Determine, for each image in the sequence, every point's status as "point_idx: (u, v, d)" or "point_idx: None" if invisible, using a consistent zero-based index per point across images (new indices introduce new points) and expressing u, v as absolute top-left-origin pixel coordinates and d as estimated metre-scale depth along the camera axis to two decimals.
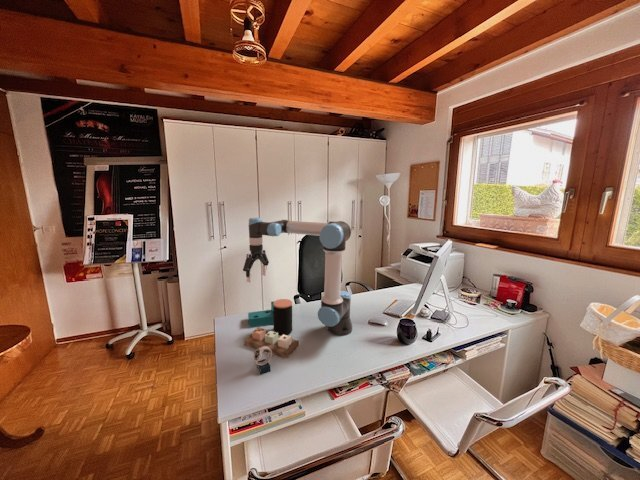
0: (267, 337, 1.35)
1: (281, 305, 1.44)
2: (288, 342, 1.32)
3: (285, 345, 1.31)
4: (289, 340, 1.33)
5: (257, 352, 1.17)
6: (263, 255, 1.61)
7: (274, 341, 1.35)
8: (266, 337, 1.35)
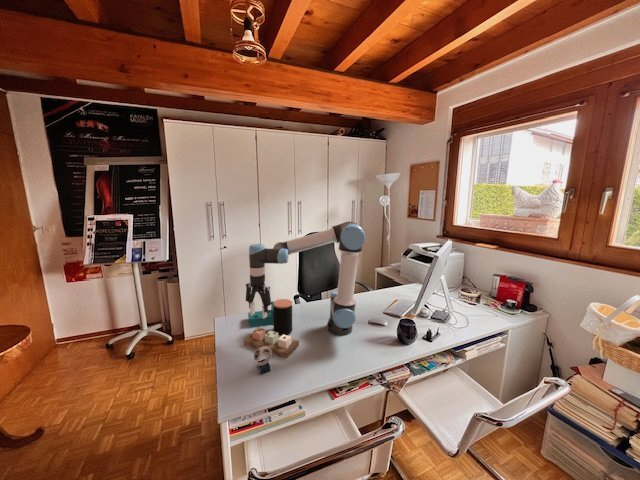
0: (267, 337, 1.35)
1: (281, 305, 1.44)
2: (288, 342, 1.32)
3: (285, 345, 1.31)
4: (289, 340, 1.33)
5: (257, 352, 1.17)
6: None
7: (274, 341, 1.35)
8: (266, 337, 1.35)
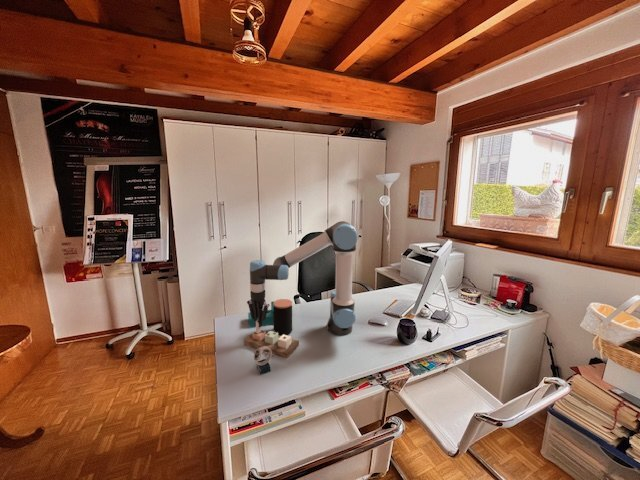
0: (267, 337, 1.35)
1: (281, 305, 1.44)
2: (288, 342, 1.32)
3: (285, 345, 1.31)
4: (289, 340, 1.33)
5: (257, 352, 1.17)
6: None
7: (274, 341, 1.35)
8: (266, 337, 1.35)
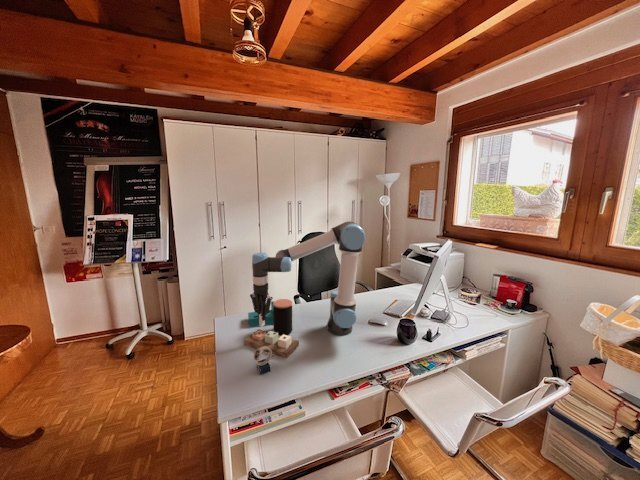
0: (267, 337, 1.35)
1: (281, 305, 1.44)
2: (288, 342, 1.32)
3: (285, 345, 1.31)
4: (289, 340, 1.33)
5: (257, 352, 1.17)
6: None
7: (274, 341, 1.35)
8: (266, 337, 1.35)
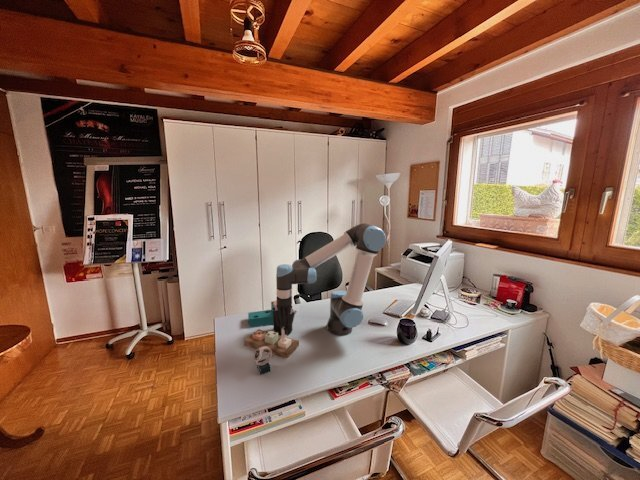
0: (267, 337, 1.35)
1: None
2: (288, 345, 1.32)
3: (285, 348, 1.31)
4: (289, 343, 1.33)
5: (257, 352, 1.17)
6: None
7: (274, 341, 1.35)
8: (266, 337, 1.35)
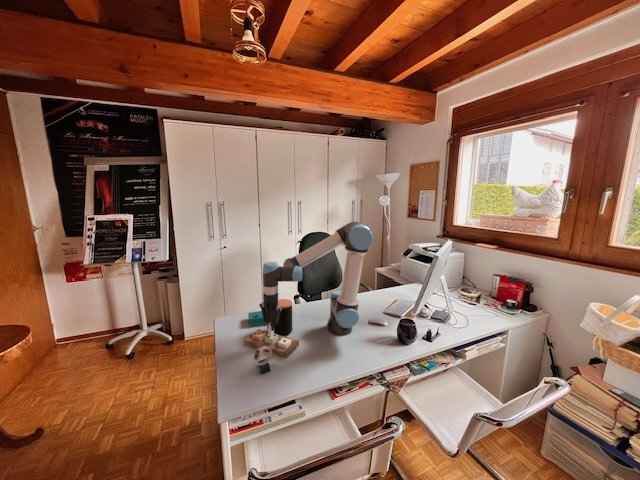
0: (267, 339, 1.35)
1: (281, 305, 1.44)
2: (288, 346, 1.32)
3: (285, 348, 1.31)
4: (289, 343, 1.33)
5: (257, 352, 1.17)
6: None
7: (274, 343, 1.35)
8: (266, 339, 1.35)
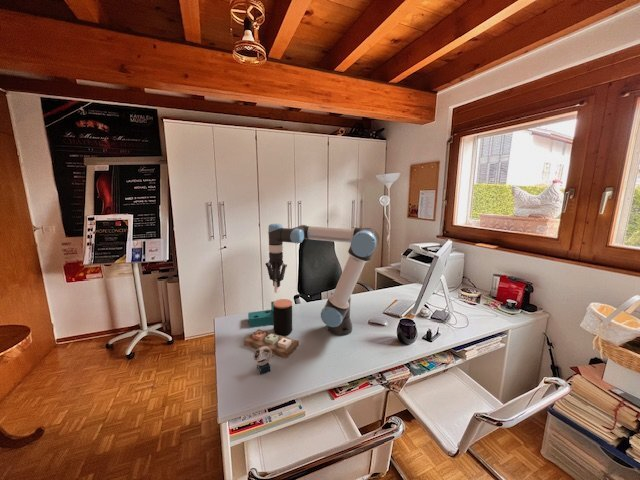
0: (267, 340, 1.35)
1: (281, 305, 1.44)
2: (288, 346, 1.32)
3: (285, 348, 1.31)
4: (289, 343, 1.33)
5: (257, 352, 1.17)
6: None
7: None
8: (266, 340, 1.35)
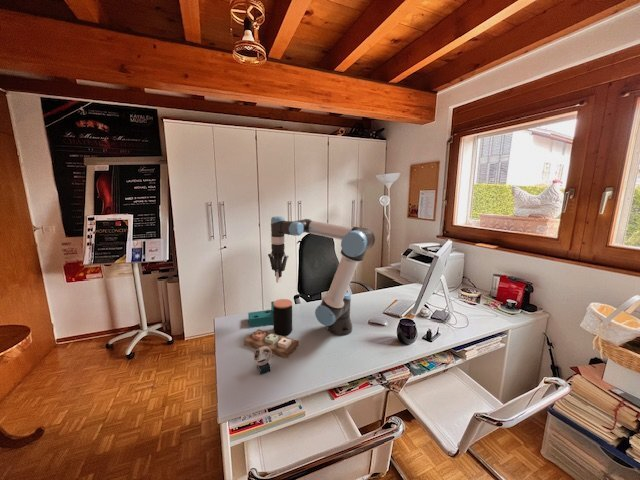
0: (267, 340, 1.35)
1: (281, 305, 1.44)
2: (288, 346, 1.32)
3: (285, 348, 1.31)
4: (289, 343, 1.33)
5: (257, 352, 1.17)
6: None
7: None
8: (266, 340, 1.35)
